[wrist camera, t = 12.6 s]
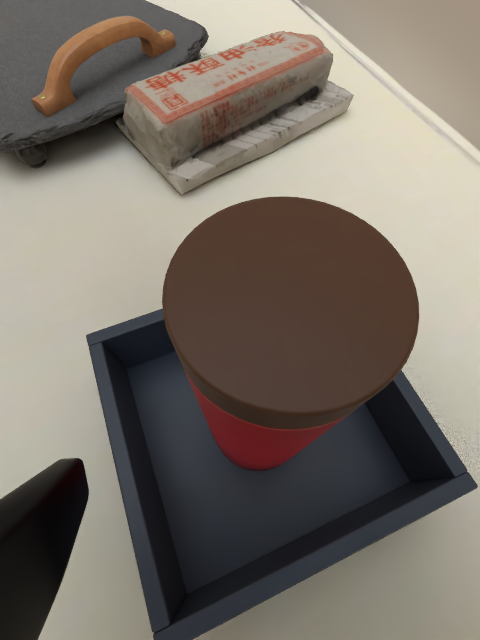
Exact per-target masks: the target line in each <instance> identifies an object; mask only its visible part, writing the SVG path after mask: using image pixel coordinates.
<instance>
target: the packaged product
mask: <svg viewBox="0 0 480 640" xmlns="http://www.w3.org/2000/svg"><path fill="white" fill-rule="evenodd" d="M332 62H333V54H332V53H331V52H330V51H329V50H328V49H327V48H326V47H325V46H324V44H323V42H322V41H321V40H320V39H319V38H318V37H316V36H314V35H304V34H297V33H292V32H284V31H282V32H276V33H271V34H269V35H266V36H263V37H260V38H257V39H254V40H252V41H250V42H248V43H244V44H241V45H238V46H235V47H233V48H230V49H228V50H225V51H223V52H219V53H217V54H214V55H210V56H207V57H205V58H202V59H200V60H197V61H194V62H191V63H188V64H185V65H182V66H180V67H177V68H175V69H172V70H169V71H166V72H163V73H161V74H158V75H155V76H152V77H149V78H147V79H145V80H142V81H137V82H136V83H133V84H131V85H130V86H129V87H127V88H125V92H124V94H125V99H126V103H125V107H124V115H123V117H122V118H120V119H117V120H116V124H117V126H118V127H119V128H120V130H121V131H122V132H123V133H124V134H125V135H126V137H127V138H128V139H129V140H130V141H131V142H132V143H133V144H134V145H135V146H136V147H137V149H138V150H139V151H140V152H141V153H142V154H143V155H144V156H145V157H146V158H147V159H148V160H149V162H150V163H151V164H152V165H153V166H154V167H155V168H156V169H157V170H158V171H159V172H160V173H161V174H162V175H163V176H164V177H165V178H166V179H167V180H168V181H169V182H170V183H171V184H172V185H173V187H174V188H175V189H176V190H177V191H178V192H179V193H180V194H181V195H182V194H184V193H186V192H188V191H190V190H192V189H193V188H195V187H197V186H199V185H201V184H203V183H205V182H207V181H209V180H210V179H212V178H215V177H217V176H219V175H221V174H223V173H226V172H228V171H230V170H232V169H234V168H236V167H239V166H241V165H243V164H245V163H247V162H250V161H252V160H255V159H257V158H259V157H262V156H264V155H266V154H269V153H271V152H274V151H275V150H277V149H278V148H280V147H282V146H283V145H285V144H286V143H288V142H290V141H291V140H293V139H294V138H296V137H298V136H300V135H302V134H303V133H305V132H307V131H309V130H311V129H313V128H315V127H317V126H319V125H321V124H323V123H325V122H326V121H328V120H330V119H332V118H334V117H336V116H338V115H340V114H342V113H344V112H346V111H347V109H348V107H349V105H350V102H351V100H352V98H353V96H354V95H353V94H352V93H350V92H348V91H347V90H345V89H344V88H341V87H339V86H337V85H335V84H334V83H332V82H330V81H328V80H327V79H328V76H329V72H330V69H331V66H332Z"/></svg>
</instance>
